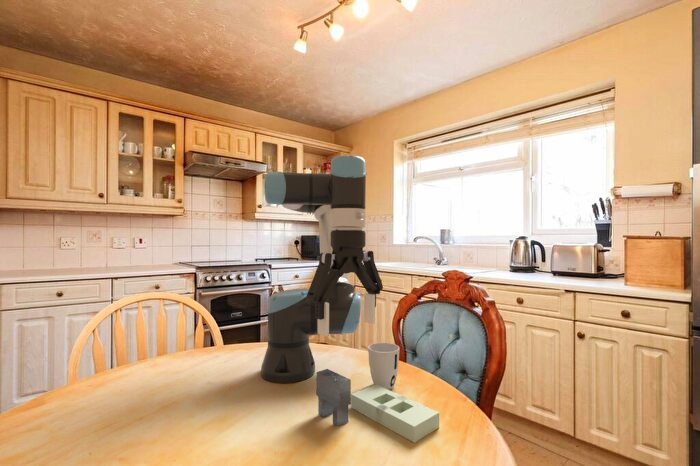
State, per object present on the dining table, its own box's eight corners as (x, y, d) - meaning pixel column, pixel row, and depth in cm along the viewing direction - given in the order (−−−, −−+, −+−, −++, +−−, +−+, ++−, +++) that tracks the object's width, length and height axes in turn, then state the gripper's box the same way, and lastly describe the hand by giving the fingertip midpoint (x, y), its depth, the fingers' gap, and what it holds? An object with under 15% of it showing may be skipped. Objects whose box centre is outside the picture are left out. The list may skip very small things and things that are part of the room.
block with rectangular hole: (351, 407, 79) (351, 394, 79) (375, 396, 84) (375, 384, 84) (414, 442, 65) (414, 426, 65) (439, 427, 70) (439, 412, 70)
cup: (398, 394, 85) (398, 353, 85) (365, 391, 87) (365, 351, 87) (400, 380, 93) (400, 343, 93) (370, 378, 95) (370, 341, 95)
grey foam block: (316, 413, 76) (316, 372, 76) (327, 409, 78) (327, 368, 78) (339, 428, 70) (339, 383, 70) (350, 423, 72) (350, 379, 72)
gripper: (312, 228, 63) (312, 345, 63) (398, 229, 80) (397, 321, 80) (289, 228, 68) (288, 336, 68) (374, 229, 86) (373, 315, 86)
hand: (347, 328), depth 74 cm, fingers open, 13 cm apart
